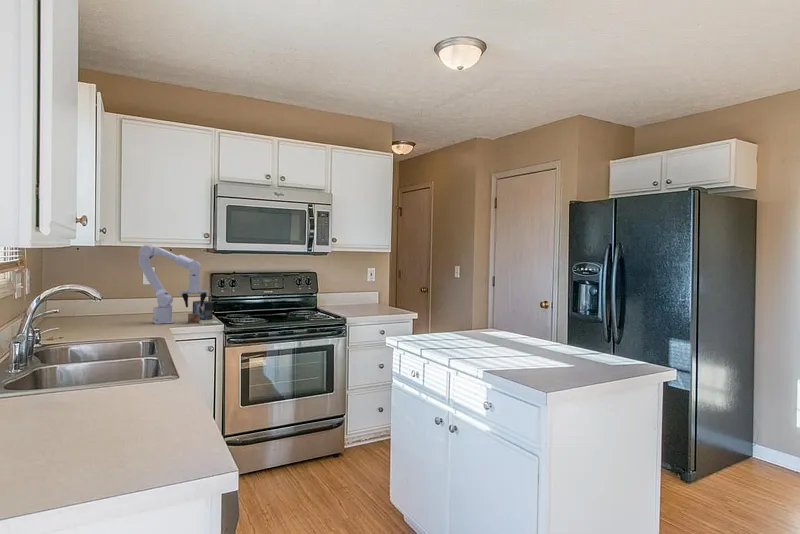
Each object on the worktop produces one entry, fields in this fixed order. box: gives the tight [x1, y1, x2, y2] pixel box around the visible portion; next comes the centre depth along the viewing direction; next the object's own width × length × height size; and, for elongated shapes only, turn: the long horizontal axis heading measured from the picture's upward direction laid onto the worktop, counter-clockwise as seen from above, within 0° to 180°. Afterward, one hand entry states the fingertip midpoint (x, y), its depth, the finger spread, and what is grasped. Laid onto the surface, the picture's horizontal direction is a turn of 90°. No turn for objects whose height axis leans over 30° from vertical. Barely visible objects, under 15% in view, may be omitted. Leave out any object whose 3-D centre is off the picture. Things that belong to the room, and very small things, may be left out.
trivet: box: [198, 320, 221, 326], centre depth 270 cm, size 9×9×1 cm
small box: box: [192, 300, 214, 321], centre depth 289 cm, size 11×6×10 cm, turn 62°
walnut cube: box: [187, 312, 201, 324], centre depth 272 cm, size 5×5×5 cm
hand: (194, 306), depth 272 cm, fingers open, 7 cm apart
